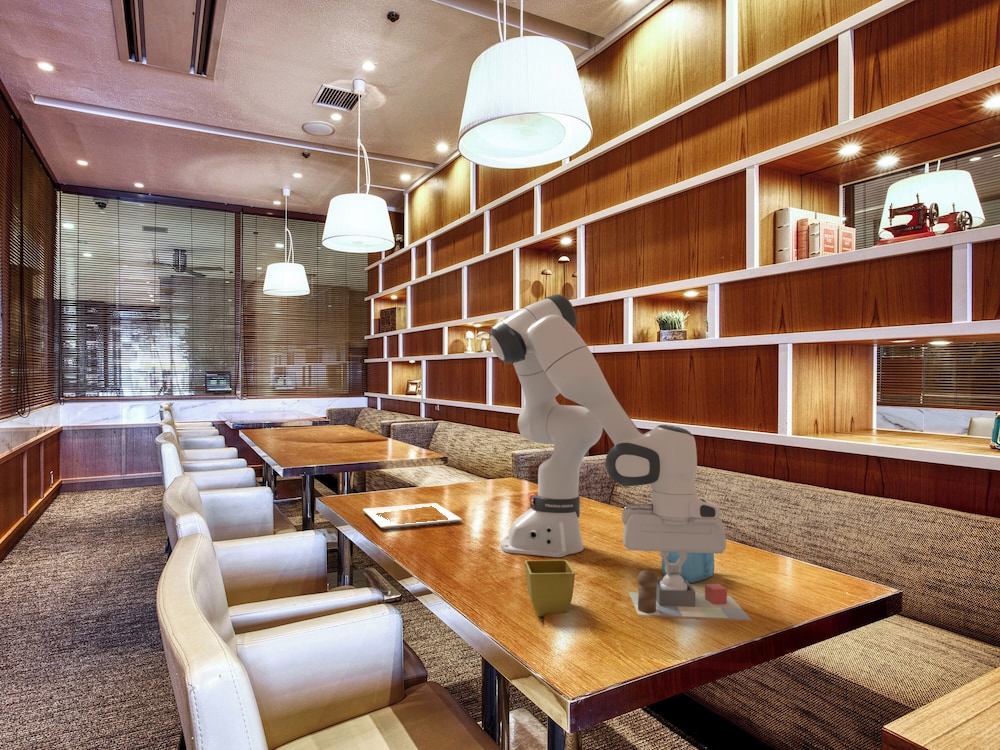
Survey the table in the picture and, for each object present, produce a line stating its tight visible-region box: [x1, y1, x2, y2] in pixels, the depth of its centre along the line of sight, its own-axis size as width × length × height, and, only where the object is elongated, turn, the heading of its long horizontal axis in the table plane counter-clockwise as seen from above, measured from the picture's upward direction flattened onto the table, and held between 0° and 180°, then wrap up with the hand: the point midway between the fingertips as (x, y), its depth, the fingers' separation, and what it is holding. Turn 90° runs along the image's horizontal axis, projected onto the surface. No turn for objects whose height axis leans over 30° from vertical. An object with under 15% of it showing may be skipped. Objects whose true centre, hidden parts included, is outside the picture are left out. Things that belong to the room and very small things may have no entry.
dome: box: [660, 573, 687, 591], centre depth 118 cm, size 5×5×5 cm
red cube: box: [704, 583, 728, 605], centre depth 118 cm, size 3×3×3 cm
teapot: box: [661, 552, 715, 584], centre depth 134 cm, size 18×14×10 cm
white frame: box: [362, 502, 463, 530], centre depth 190 cm, size 26×26×2 cm
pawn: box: [637, 569, 659, 613], centre depth 113 cm, size 4×4×8 cm
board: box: [628, 578, 754, 622], centre depth 115 cm, size 21×13×4 cm, turn 86°
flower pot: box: [524, 559, 576, 617], centre depth 114 cm, size 9×9×9 cm
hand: (673, 572), depth 118 cm, fingers closed, pressing on dome
